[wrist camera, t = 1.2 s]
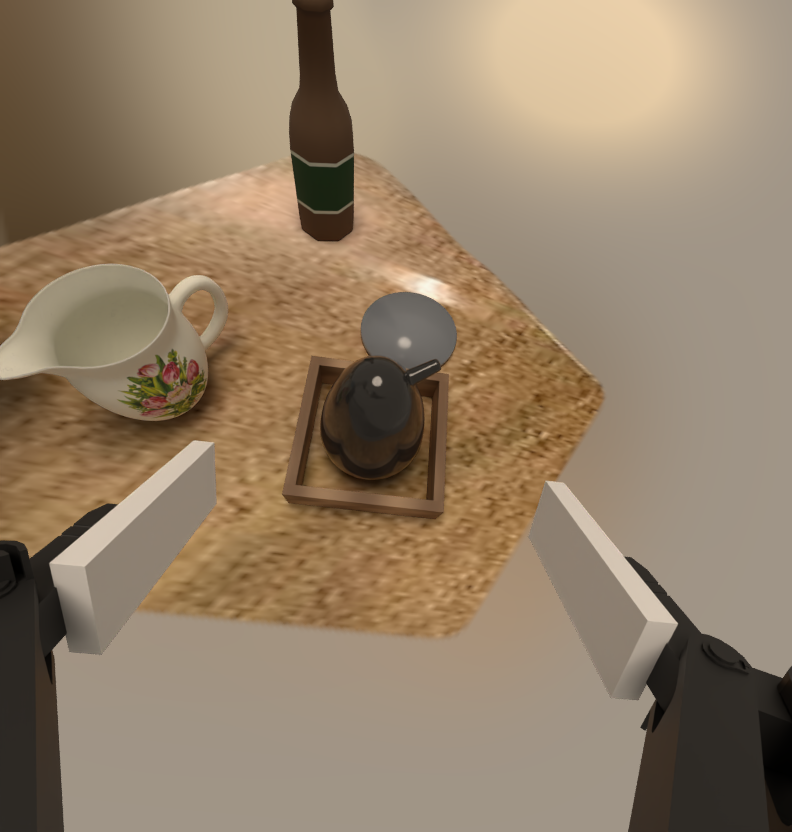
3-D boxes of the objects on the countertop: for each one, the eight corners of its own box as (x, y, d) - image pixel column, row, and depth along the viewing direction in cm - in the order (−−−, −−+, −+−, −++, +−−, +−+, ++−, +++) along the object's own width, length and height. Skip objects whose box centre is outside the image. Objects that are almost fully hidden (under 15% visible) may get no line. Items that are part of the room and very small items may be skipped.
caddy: (288, 502, 39) (282, 494, 35) (314, 374, 45) (311, 355, 41) (434, 518, 40) (443, 512, 36) (441, 390, 46) (448, 374, 42)
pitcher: (274, 362, 45) (244, 277, 32) (138, 476, 38) (35, 423, 26) (210, 309, 47) (159, 209, 34) (70, 408, 40) (-56, 329, 28)
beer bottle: (340, 199, 57) (334, -41, 35) (364, 234, 55) (372, 2, 33) (291, 212, 55) (251, -34, 33) (312, 249, 53) (285, 11, 31)
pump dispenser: (432, 469, 42) (472, 412, 28) (340, 502, 39) (334, 457, 26) (398, 390, 45) (419, 304, 31) (311, 415, 43) (293, 335, 29)
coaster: (354, 368, 46) (354, 364, 45) (367, 290, 51) (367, 286, 50) (453, 381, 47) (455, 378, 46) (456, 303, 51) (457, 299, 51)
